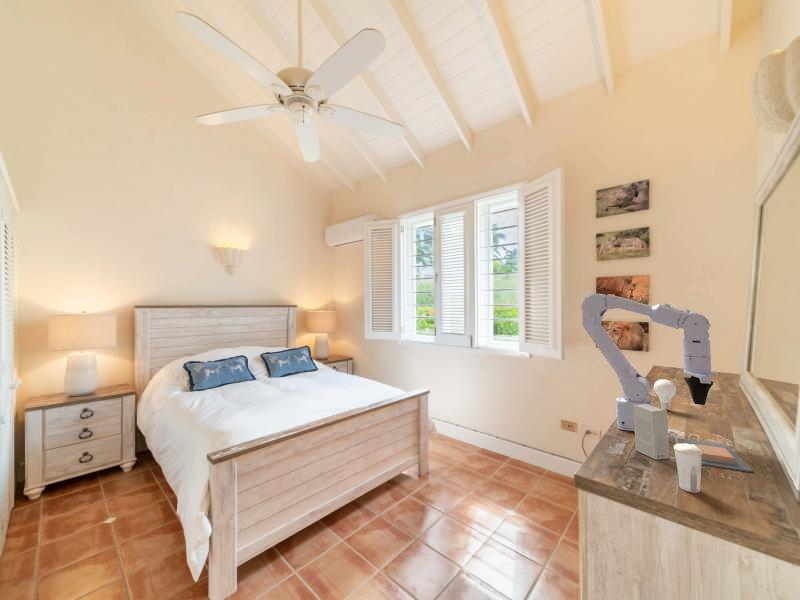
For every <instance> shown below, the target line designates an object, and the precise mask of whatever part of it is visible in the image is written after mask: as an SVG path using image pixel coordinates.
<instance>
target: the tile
mask: <svg viewBox="0 0 800 600" xmlns="http://www.w3.org/2000/svg"><path fill="white" fill-rule="evenodd" d="M694 445H695V446H697V447H698V448H699V449H701V450H702V460H706V461H712V462H719V463H726V464H732V465H735V461H734V457H733V456H732V455H731V454H730V453H729V452H728V451H727V450H726V449H725V448H720V447H712V446H705V445H697V444H694Z"/></svg>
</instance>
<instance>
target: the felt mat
mask: <svg viewBox="0 0 800 600" xmlns="http://www.w3.org/2000/svg"><path fill="white" fill-rule="evenodd" d="M673 438H674V437H673ZM673 440H674V441H675V438H674V439H673ZM677 440H678V443H679V444H684V443H686V444H693V445H694V444H697V445H705V446H712V447H720V448H725V449H726V450H727V451H728V452H729V453H730V454H731V455H732V456H733V457H734V461H735V465H732V464H726V463H719V462H712V461H706V460H702V464H701V466H706V467H707V466H708V467H713V468H718V469H720V468H721V469H727V470H731V471H732V470H734V471H739V472H744V473H745V472H746V473H751V474H754V472H755V471H754V470H753V469H752V467H750V466H749V465H748V464H747V463H746V462H745V461H744V460H743V459H742V458H741V457H740V456H739V455H738V454H737V453H735V451H734V450H733V449H732V448H731V447H730V446H728V445H727V444H725V443H724V444H723V443H717V442H716V443H715V442H710V441H709V442H708V441H701V440H695V439H685V438H684V439H683V438H677Z"/></svg>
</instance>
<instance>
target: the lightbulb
mask: <svg viewBox="0 0 800 600" xmlns="http://www.w3.org/2000/svg"><path fill="white" fill-rule="evenodd" d="M653 391H654V392H655V393H656V395H657V397H658V399H659V401H660V408H661V409H664V410H667V411H669V410H671V402H672V399H673V397H674V395H676V392H677V387H676V385H675V384H674V382H673V381H671V380H668V379H666V378H665V379H664V378H663V379H658V380H656V381H655V382H654V384H653Z"/></svg>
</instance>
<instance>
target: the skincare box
mask: <svg viewBox="0 0 800 600" xmlns="http://www.w3.org/2000/svg"><path fill="white" fill-rule="evenodd" d="M634 426H635V431H634V446H635V451H637V452H638V453H641V454H642V455H645V456H647V457H649V458H651V459H654V460H666V459H667V460H668V459H670V446H669V444H670V443H669V442H670V441H669V425H668V410H664V409H662V408H661V407H660V408H659V407H657V406H654V405H652V406H651V405H648V404H640V405H634Z"/></svg>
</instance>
